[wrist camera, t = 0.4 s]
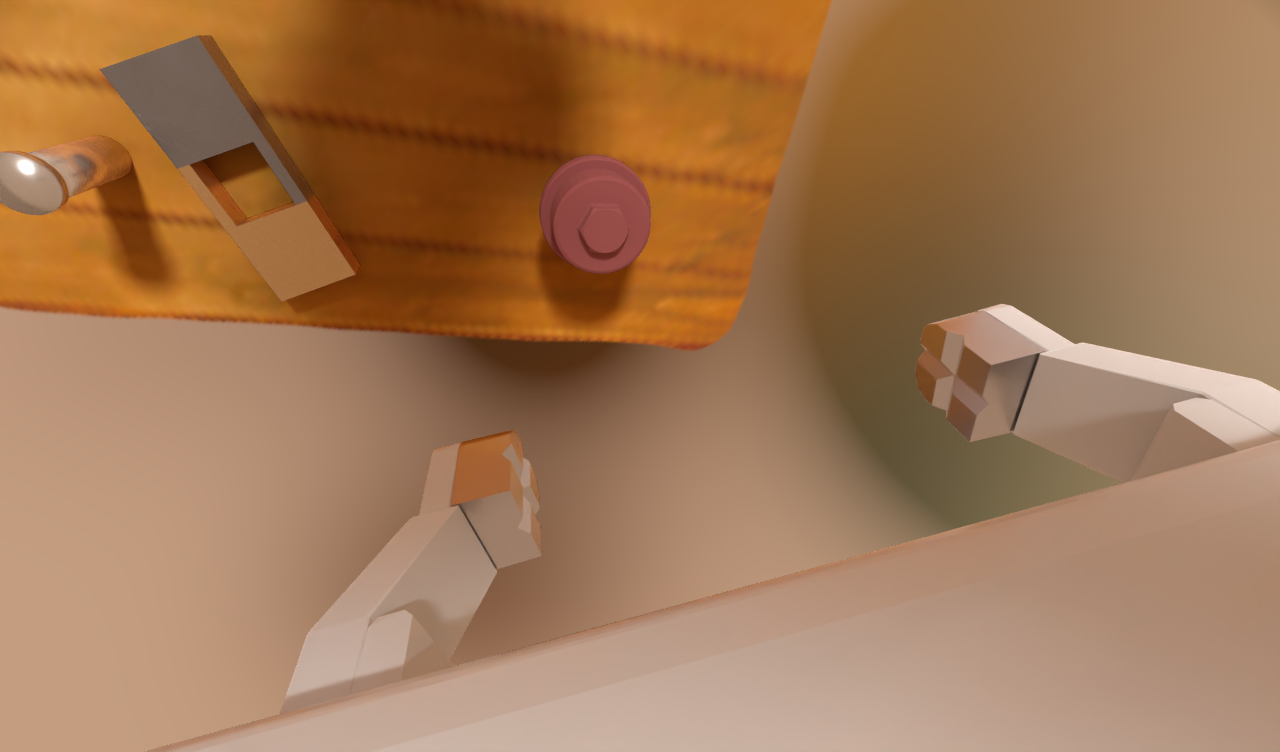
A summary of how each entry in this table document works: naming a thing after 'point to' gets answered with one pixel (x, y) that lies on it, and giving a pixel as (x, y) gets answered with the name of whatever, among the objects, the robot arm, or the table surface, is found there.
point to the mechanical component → (595, 214)
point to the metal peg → (59, 173)
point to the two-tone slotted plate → (218, 122)
